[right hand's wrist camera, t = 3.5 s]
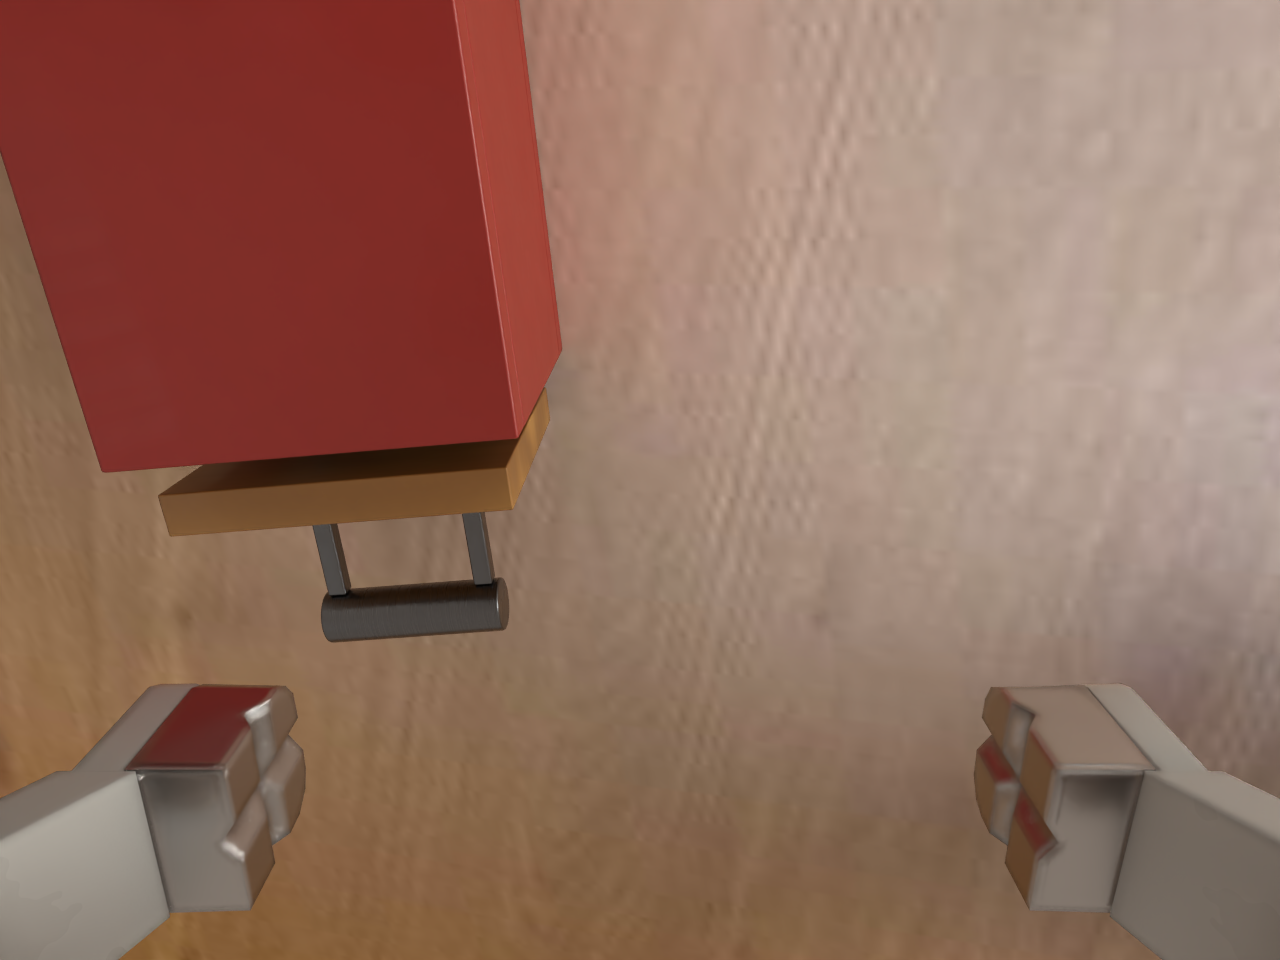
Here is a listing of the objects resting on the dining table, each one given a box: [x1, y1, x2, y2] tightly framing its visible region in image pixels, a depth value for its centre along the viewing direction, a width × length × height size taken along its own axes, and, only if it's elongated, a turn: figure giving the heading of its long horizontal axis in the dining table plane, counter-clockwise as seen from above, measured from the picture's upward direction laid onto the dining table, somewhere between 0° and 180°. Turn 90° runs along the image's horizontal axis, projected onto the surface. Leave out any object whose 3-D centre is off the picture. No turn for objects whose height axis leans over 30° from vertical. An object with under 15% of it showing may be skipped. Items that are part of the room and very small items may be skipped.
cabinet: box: [0, 0, 562, 473], centre depth 23 cm, size 18×10×10 cm, turn 5°
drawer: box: [158, 387, 550, 642], centre depth 25 cm, size 23×9×8 cm, turn 5°
